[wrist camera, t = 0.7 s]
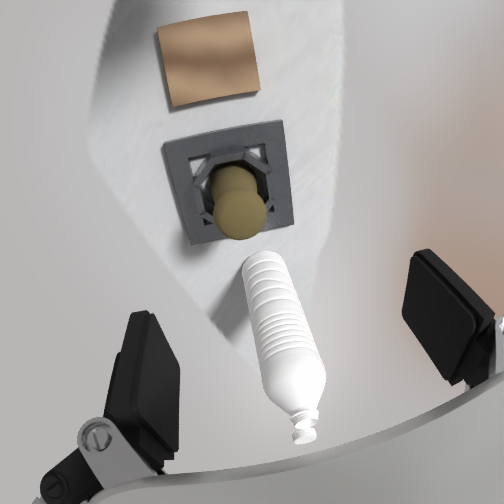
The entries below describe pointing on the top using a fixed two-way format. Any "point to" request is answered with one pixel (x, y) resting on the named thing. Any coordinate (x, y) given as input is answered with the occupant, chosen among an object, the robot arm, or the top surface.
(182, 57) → the coaster board
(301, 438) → the water bottle
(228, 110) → the top surface
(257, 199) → the cork
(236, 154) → the grey octagonal holder
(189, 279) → the top surface
